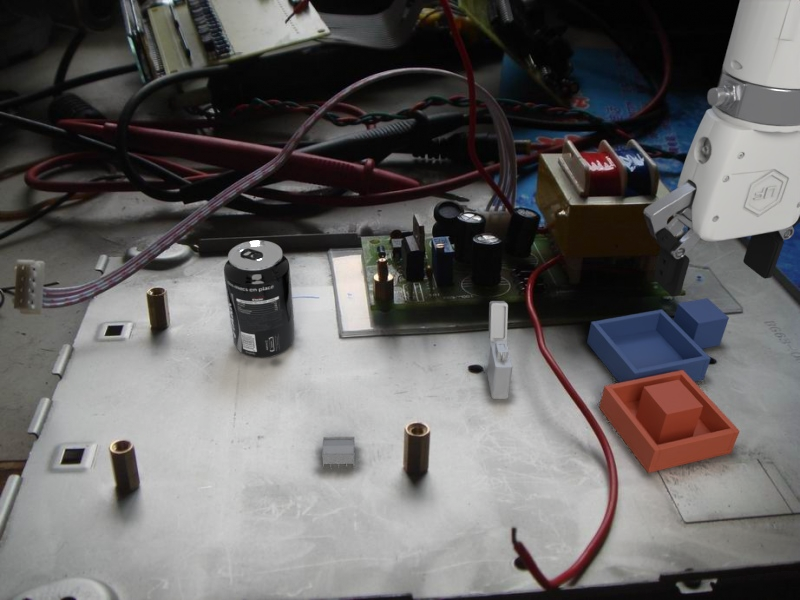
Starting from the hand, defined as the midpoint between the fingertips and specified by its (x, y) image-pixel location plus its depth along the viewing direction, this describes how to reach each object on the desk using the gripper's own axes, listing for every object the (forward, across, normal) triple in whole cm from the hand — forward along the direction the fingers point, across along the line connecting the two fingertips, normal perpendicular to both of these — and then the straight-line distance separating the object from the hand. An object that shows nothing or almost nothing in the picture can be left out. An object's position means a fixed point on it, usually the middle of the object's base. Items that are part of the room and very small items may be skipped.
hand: (712, 279), depth 68 cm
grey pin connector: (+16, -35, +3) cm, 38 cm away
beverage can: (+16, -39, +22) cm, 47 cm away
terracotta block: (+15, -3, -3) cm, 16 cm away
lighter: (+16, -16, +10) cm, 24 cm away
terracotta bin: (+16, -3, -3) cm, 16 cm away
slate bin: (+16, +1, +7) cm, 18 cm away
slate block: (+16, +9, +9) cm, 21 cm away
